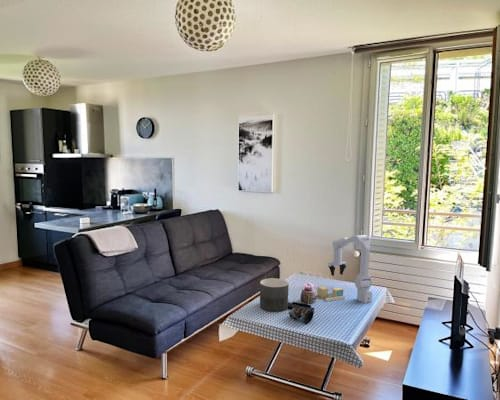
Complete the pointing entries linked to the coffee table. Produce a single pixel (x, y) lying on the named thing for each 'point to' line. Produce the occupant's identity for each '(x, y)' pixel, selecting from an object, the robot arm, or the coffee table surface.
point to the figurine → (301, 314)
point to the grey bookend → (331, 297)
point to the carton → (322, 291)
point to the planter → (274, 294)
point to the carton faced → (337, 292)
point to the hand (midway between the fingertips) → (336, 275)
